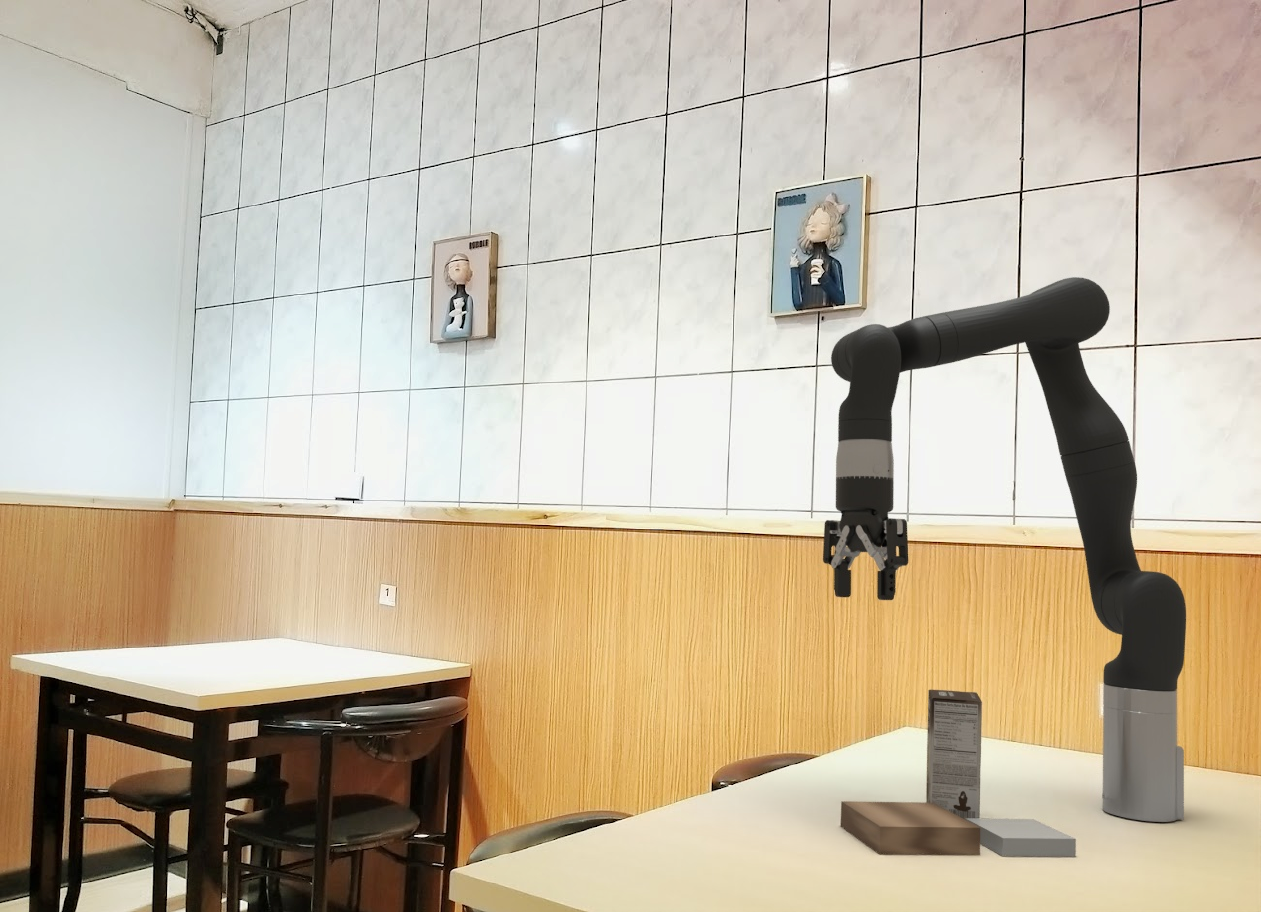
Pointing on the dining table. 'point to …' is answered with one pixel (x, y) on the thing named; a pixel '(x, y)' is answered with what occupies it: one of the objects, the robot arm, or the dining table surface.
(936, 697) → the coffee box
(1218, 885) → the dining table surface
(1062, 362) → the robot arm
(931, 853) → the walnut base
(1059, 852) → the grey coaster
